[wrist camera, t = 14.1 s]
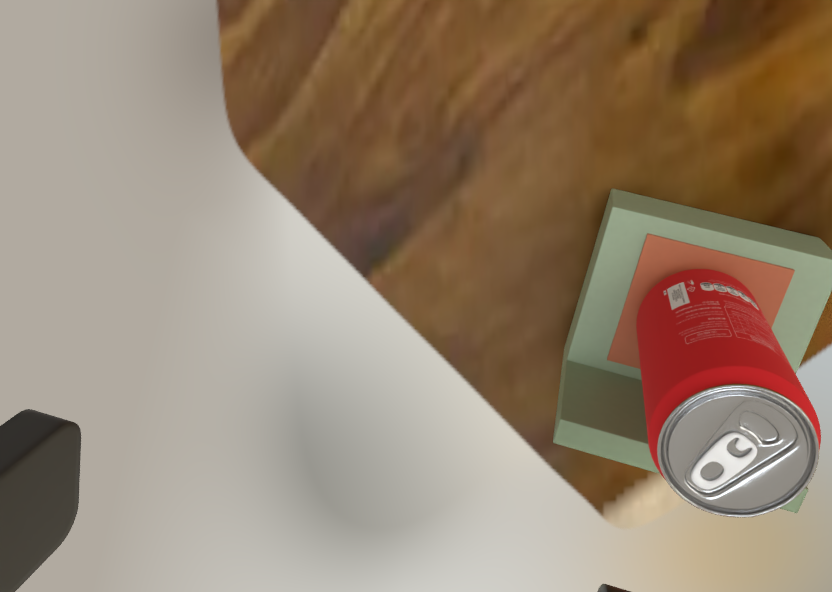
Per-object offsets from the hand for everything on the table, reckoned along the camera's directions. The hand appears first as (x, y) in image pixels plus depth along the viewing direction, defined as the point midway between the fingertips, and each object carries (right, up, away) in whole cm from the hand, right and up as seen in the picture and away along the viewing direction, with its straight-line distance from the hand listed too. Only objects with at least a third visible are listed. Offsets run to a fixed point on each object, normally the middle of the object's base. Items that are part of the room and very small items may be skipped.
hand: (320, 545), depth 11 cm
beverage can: (+14, +3, +24) cm, 28 cm away
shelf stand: (+15, +4, +28) cm, 32 cm away
